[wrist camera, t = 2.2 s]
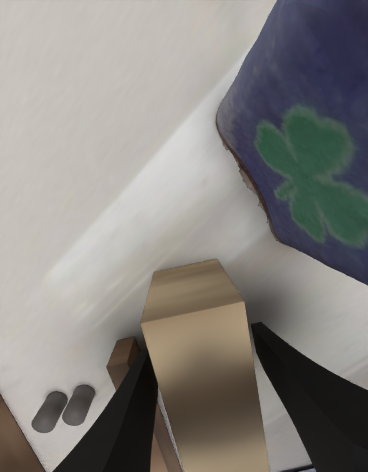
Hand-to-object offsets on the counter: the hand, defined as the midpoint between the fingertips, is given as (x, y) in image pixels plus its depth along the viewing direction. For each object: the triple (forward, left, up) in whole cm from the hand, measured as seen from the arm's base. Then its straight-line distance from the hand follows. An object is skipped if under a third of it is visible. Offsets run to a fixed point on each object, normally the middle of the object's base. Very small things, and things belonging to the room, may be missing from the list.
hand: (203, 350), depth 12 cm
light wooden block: (0, 0, -2) cm, 2 cm away
